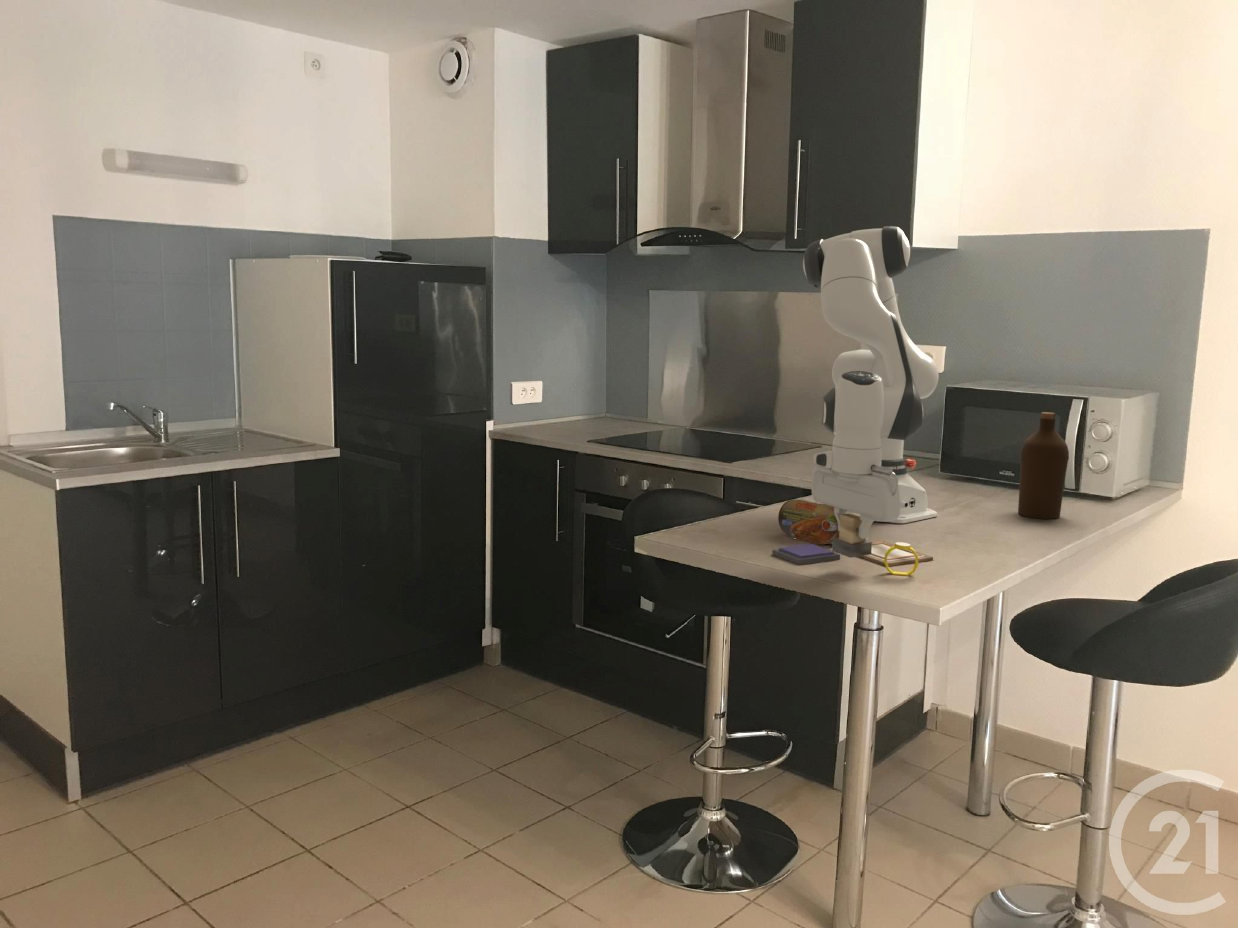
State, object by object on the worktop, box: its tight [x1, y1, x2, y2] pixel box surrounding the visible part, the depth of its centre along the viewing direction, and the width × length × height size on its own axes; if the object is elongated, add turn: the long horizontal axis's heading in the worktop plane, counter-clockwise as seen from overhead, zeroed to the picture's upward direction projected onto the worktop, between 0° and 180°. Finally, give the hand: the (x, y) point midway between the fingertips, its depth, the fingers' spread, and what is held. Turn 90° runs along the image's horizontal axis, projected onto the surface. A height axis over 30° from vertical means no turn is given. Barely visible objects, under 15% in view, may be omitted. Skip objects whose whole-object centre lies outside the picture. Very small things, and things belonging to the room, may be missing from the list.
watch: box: [884, 541, 919, 577], centre depth 181 cm, size 6×3×6 cm, turn 78°
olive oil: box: [1017, 411, 1070, 520], centre depth 236 cm, size 11×11×25 cm
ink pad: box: [771, 543, 841, 566], centre depth 193 cm, size 10×8×2 cm
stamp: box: [831, 513, 873, 558], centre depth 181 cm, size 5×5×7 cm
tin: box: [777, 499, 840, 545], centre depth 206 cm, size 15×3×8 cm, turn 45°
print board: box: [857, 540, 934, 567], centre depth 196 cm, size 12×14×1 cm
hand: (852, 534), depth 181 cm, fingers closed on stamp, 3 cm apart
